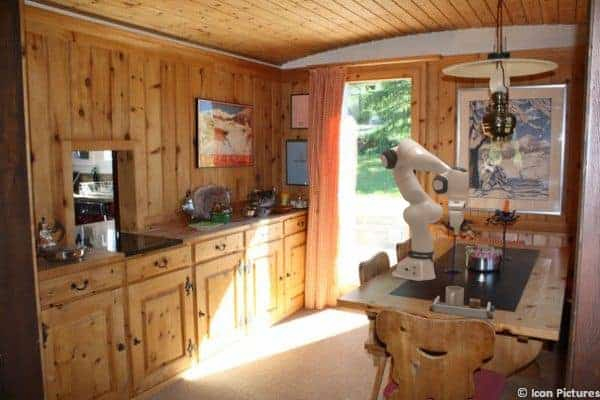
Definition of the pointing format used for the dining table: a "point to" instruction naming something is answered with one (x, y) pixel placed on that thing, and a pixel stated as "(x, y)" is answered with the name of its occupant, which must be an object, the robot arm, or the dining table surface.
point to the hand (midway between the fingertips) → (456, 234)
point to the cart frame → (461, 310)
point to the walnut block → (474, 303)
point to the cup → (454, 296)
